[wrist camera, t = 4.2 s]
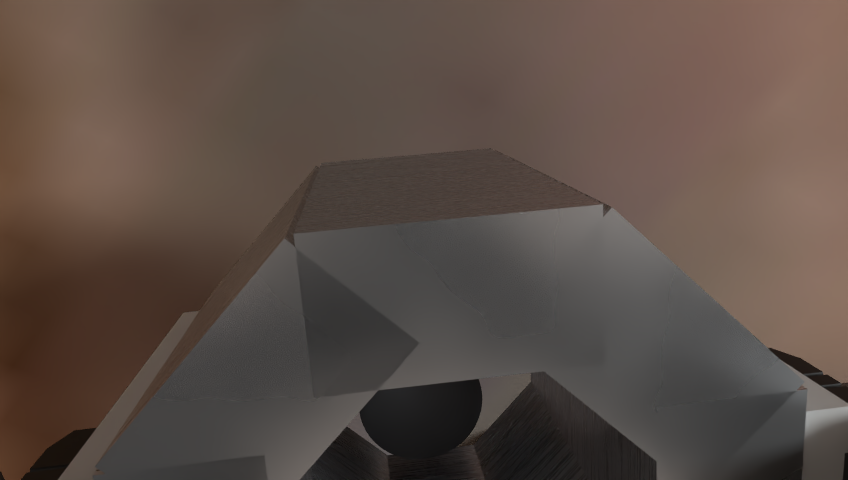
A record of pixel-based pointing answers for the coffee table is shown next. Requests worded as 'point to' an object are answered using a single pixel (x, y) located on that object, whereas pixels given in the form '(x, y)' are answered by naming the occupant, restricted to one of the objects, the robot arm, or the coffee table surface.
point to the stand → (423, 417)
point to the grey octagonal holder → (461, 341)
